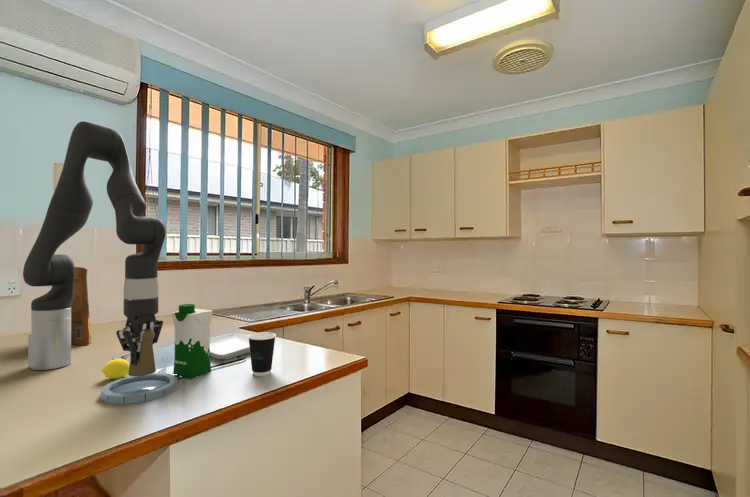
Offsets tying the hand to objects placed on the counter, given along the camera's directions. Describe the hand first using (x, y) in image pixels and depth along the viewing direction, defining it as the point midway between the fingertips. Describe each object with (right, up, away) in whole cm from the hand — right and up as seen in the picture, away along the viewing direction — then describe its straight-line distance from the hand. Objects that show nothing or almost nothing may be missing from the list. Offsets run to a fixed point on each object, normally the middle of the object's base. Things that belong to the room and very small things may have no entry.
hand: (140, 364), depth 98 cm
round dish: (0, -7, 0) cm, 7 cm away
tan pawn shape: (0, -2, 0) cm, 2 cm away
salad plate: (+8, -7, +37) cm, 39 cm away
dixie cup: (+26, -7, +15) cm, 31 cm away
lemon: (-12, -7, +9) cm, 16 cm away
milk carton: (+7, -7, +13) cm, 16 cm away
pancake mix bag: (-51, -6, +45) cm, 69 cm away
